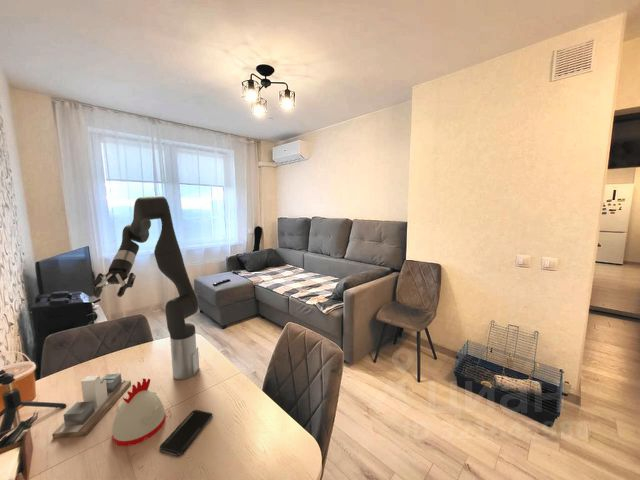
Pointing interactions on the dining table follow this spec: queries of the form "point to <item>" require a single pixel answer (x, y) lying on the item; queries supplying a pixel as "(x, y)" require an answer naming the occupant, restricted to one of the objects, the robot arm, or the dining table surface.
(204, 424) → the phone
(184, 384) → the dining table surface
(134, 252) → the robot arm
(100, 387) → the block
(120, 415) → the kitchen timer
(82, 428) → the rail plate
